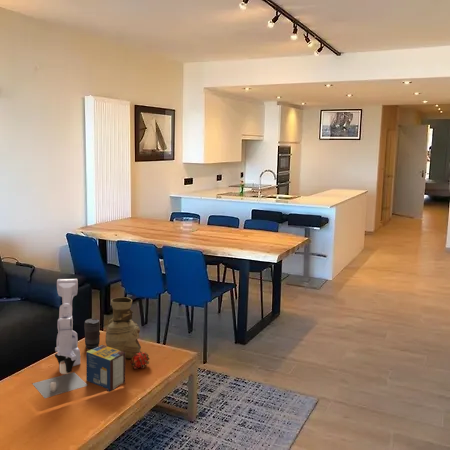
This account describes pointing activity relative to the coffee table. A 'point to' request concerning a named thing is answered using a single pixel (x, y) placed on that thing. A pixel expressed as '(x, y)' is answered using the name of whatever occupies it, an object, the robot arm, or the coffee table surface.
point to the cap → (63, 368)
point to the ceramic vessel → (123, 328)
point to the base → (59, 384)
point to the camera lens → (92, 333)
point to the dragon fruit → (140, 360)
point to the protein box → (105, 367)
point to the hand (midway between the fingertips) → (65, 369)
